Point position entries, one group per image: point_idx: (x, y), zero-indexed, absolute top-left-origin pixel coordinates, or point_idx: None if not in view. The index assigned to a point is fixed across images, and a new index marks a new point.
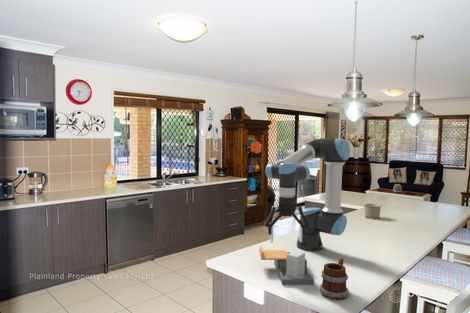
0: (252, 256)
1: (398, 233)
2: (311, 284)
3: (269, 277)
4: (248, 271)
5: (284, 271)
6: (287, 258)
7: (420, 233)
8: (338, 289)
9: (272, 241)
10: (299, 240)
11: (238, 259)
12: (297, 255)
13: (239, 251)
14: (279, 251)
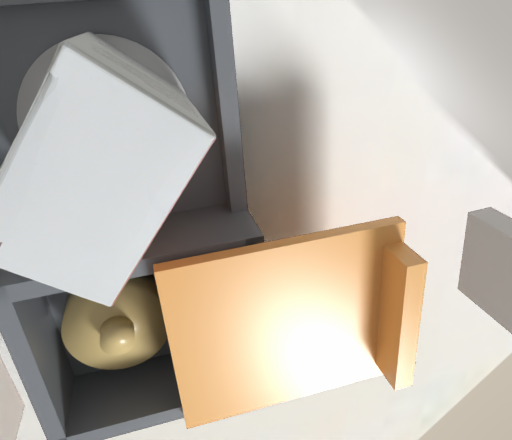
0: (366, 392)
1: None
2: None
3: (302, 108)
4: (421, 185)
5: (192, 199)
6: (199, 117)
7: None
8: None
9: (483, 216)
10: (11, 387)
11: (445, 336)
12: (63, 118)
13: (421, 429)
14: (242, 389)
